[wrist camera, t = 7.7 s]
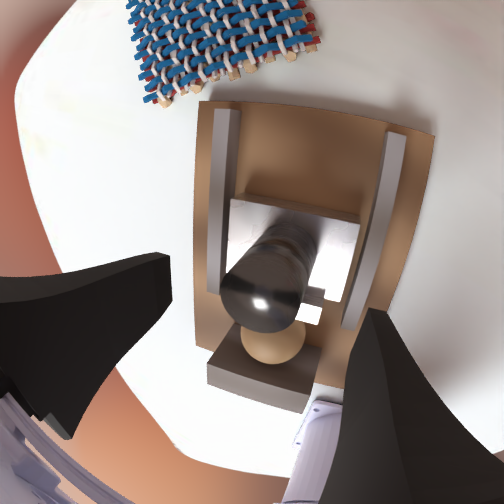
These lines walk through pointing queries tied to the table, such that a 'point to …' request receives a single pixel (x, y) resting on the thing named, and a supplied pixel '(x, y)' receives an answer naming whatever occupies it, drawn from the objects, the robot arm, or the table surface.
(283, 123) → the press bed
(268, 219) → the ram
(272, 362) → the walnut
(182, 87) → the woven mat
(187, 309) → the table surface
